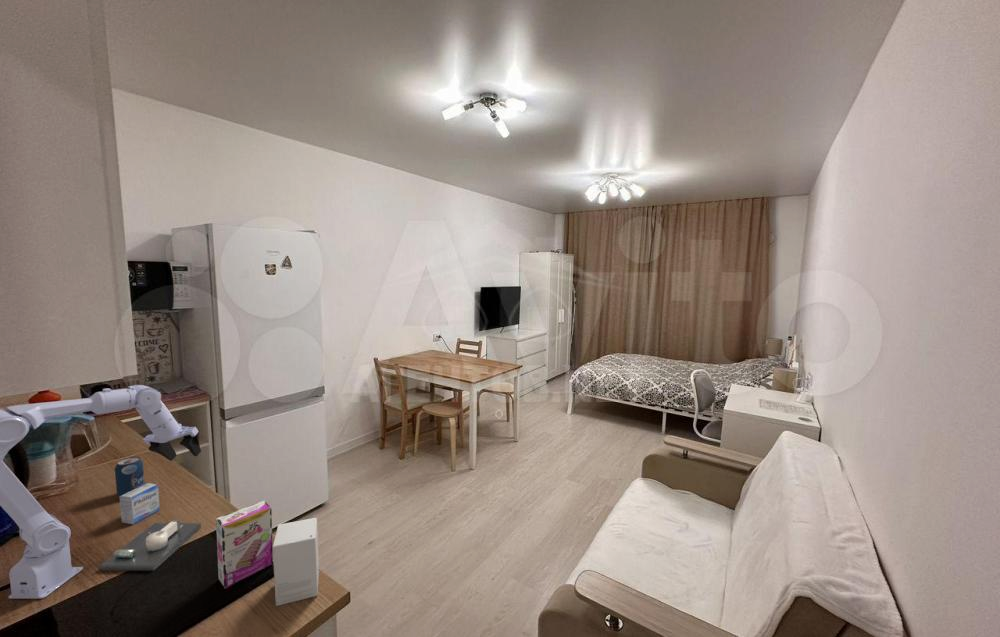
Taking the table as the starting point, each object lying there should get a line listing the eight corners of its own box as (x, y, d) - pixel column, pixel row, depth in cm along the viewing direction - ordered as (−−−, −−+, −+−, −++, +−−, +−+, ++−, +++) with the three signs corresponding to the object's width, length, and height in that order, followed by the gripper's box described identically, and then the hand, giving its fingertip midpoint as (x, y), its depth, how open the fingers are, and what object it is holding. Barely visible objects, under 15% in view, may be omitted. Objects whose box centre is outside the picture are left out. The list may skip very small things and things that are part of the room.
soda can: (139, 498, 134) (137, 463, 132) (113, 501, 131) (109, 466, 130) (148, 487, 140) (146, 454, 139) (123, 490, 138) (120, 457, 136)
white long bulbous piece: (159, 551, 107) (158, 541, 107) (142, 551, 107) (141, 541, 107) (184, 529, 116) (184, 519, 116) (169, 529, 116) (168, 519, 116)
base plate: (153, 570, 103) (152, 558, 102) (100, 570, 102) (99, 558, 102) (200, 528, 120) (200, 517, 119) (155, 527, 119) (154, 517, 119)
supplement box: (319, 570, 104) (318, 516, 103) (317, 596, 96) (316, 538, 94) (280, 579, 101) (277, 523, 99) (274, 607, 93) (271, 546, 91)
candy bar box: (225, 590, 97) (221, 527, 95) (218, 580, 100) (214, 518, 98) (274, 565, 106) (272, 506, 104) (266, 556, 109) (264, 499, 107)
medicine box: (133, 525, 120) (130, 497, 119) (121, 523, 121) (118, 495, 120) (160, 510, 128) (158, 484, 127) (148, 508, 129) (146, 482, 128)
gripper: (194, 408, 119) (216, 442, 126) (146, 416, 120) (171, 450, 126) (178, 424, 113) (203, 459, 119) (128, 433, 113) (155, 467, 120)
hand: (185, 455), depth 122 cm, fingers open, 7 cm apart
